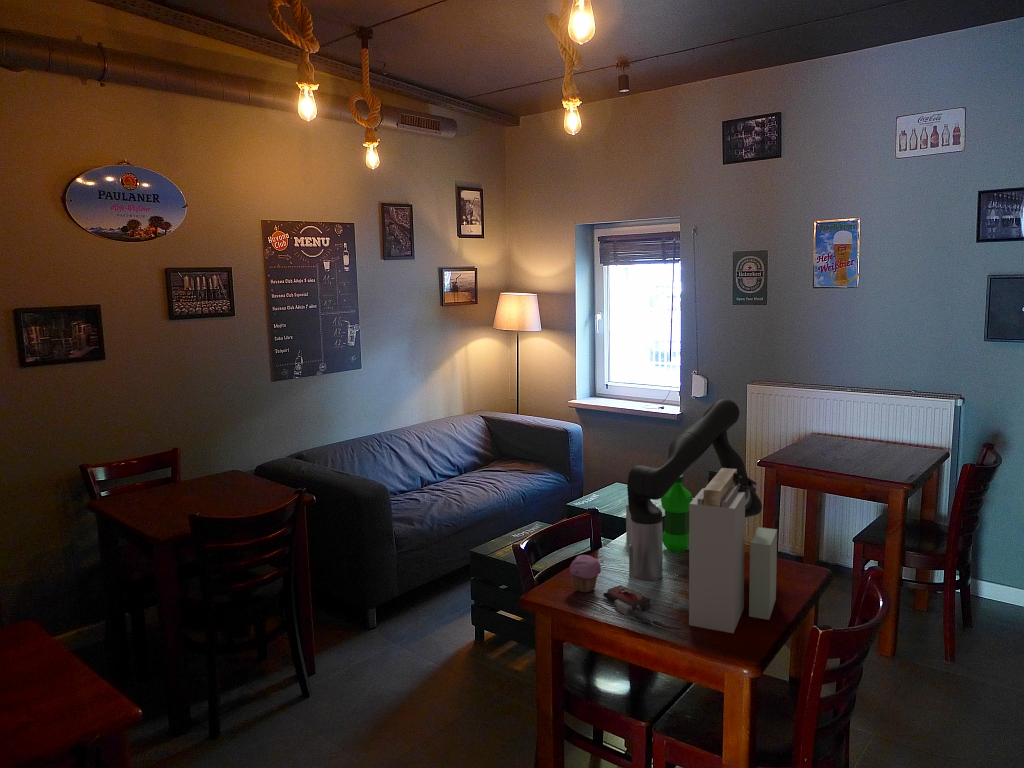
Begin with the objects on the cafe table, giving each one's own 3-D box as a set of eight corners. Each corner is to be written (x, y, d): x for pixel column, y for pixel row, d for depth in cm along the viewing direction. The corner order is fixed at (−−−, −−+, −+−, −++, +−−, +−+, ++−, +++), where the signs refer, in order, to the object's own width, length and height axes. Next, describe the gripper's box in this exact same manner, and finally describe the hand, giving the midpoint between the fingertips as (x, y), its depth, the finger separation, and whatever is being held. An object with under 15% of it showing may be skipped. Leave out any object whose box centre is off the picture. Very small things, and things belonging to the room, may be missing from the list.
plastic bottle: (698, 548, 236) (699, 474, 232) (681, 558, 228) (681, 481, 225) (672, 542, 243) (672, 469, 239) (654, 550, 235) (654, 476, 232)
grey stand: (689, 625, 183) (689, 497, 179) (702, 601, 196) (702, 482, 192) (733, 633, 178) (734, 502, 174) (743, 608, 192) (745, 486, 187)
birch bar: (703, 505, 177) (703, 489, 177) (721, 481, 198) (721, 467, 197) (720, 507, 176) (720, 491, 175) (736, 483, 196) (736, 469, 195)
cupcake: (579, 581, 213) (578, 548, 211) (606, 587, 208) (605, 554, 207) (565, 592, 205) (564, 558, 204) (592, 598, 201) (592, 564, 199)
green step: (749, 616, 187) (750, 542, 184) (756, 596, 199) (757, 527, 196) (769, 619, 185) (770, 545, 182) (775, 599, 196) (777, 529, 194)
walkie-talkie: (597, 601, 200) (647, 628, 183) (596, 585, 199) (647, 611, 183) (620, 593, 205) (672, 619, 188) (620, 578, 204) (672, 603, 187)
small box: (638, 546, 239) (638, 509, 238) (625, 541, 244) (625, 504, 243) (656, 541, 244) (656, 504, 242) (643, 536, 249) (643, 500, 247)
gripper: (711, 476, 210) (700, 459, 196) (762, 481, 204) (754, 464, 190) (708, 502, 208) (697, 486, 194) (760, 507, 201) (752, 491, 187)
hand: (725, 475), depth 192 cm, fingers closed on birch bar, 4 cm apart
